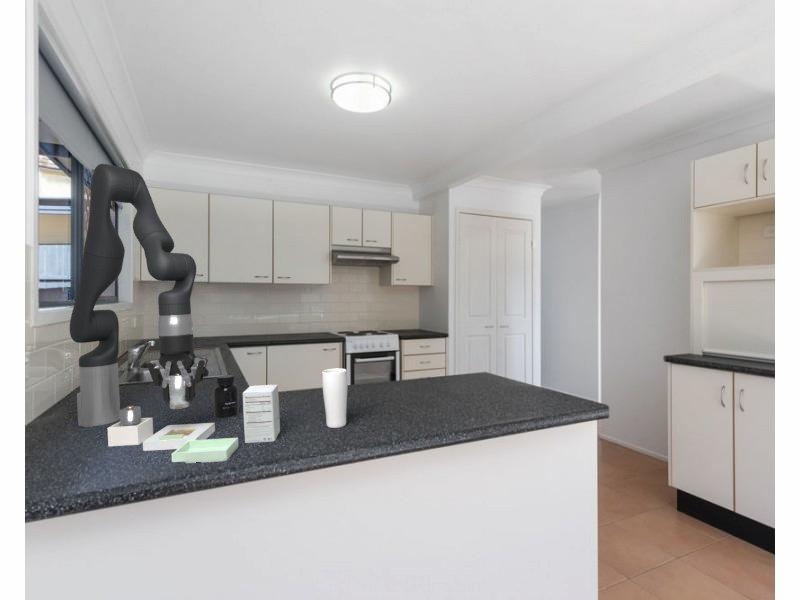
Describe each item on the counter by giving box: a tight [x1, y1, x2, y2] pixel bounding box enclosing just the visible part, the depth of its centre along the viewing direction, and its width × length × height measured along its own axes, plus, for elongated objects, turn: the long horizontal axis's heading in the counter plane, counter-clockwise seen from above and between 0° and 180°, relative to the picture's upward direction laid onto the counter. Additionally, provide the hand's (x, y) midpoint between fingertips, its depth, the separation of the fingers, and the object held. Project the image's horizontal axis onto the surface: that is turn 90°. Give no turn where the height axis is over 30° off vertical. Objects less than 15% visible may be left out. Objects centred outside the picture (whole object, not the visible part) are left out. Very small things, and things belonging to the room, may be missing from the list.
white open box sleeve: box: [107, 417, 154, 447], centre depth 104 cm, size 7×7×5 cm
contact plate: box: [169, 430, 195, 436], centre depth 103 cm, size 6×6×1 cm
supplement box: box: [242, 384, 281, 444], centre depth 104 cm, size 7×7×13 cm
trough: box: [171, 437, 240, 464], centre depth 94 cm, size 12×8×2 cm
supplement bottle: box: [213, 374, 240, 419], centre depth 124 cm, size 7×7×12 cm
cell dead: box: [119, 405, 142, 427], centre depth 104 cm, size 4×4×9 cm
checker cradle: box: [142, 422, 216, 452], centre depth 103 cm, size 12×12×3 cm
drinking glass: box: [321, 367, 349, 429], centre depth 112 cm, size 7×7×15 cm
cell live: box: [168, 374, 191, 410], centre depth 103 cm, size 4×4×9 cm
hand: (179, 401), depth 103 cm, fingers closed on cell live, 4 cm apart
